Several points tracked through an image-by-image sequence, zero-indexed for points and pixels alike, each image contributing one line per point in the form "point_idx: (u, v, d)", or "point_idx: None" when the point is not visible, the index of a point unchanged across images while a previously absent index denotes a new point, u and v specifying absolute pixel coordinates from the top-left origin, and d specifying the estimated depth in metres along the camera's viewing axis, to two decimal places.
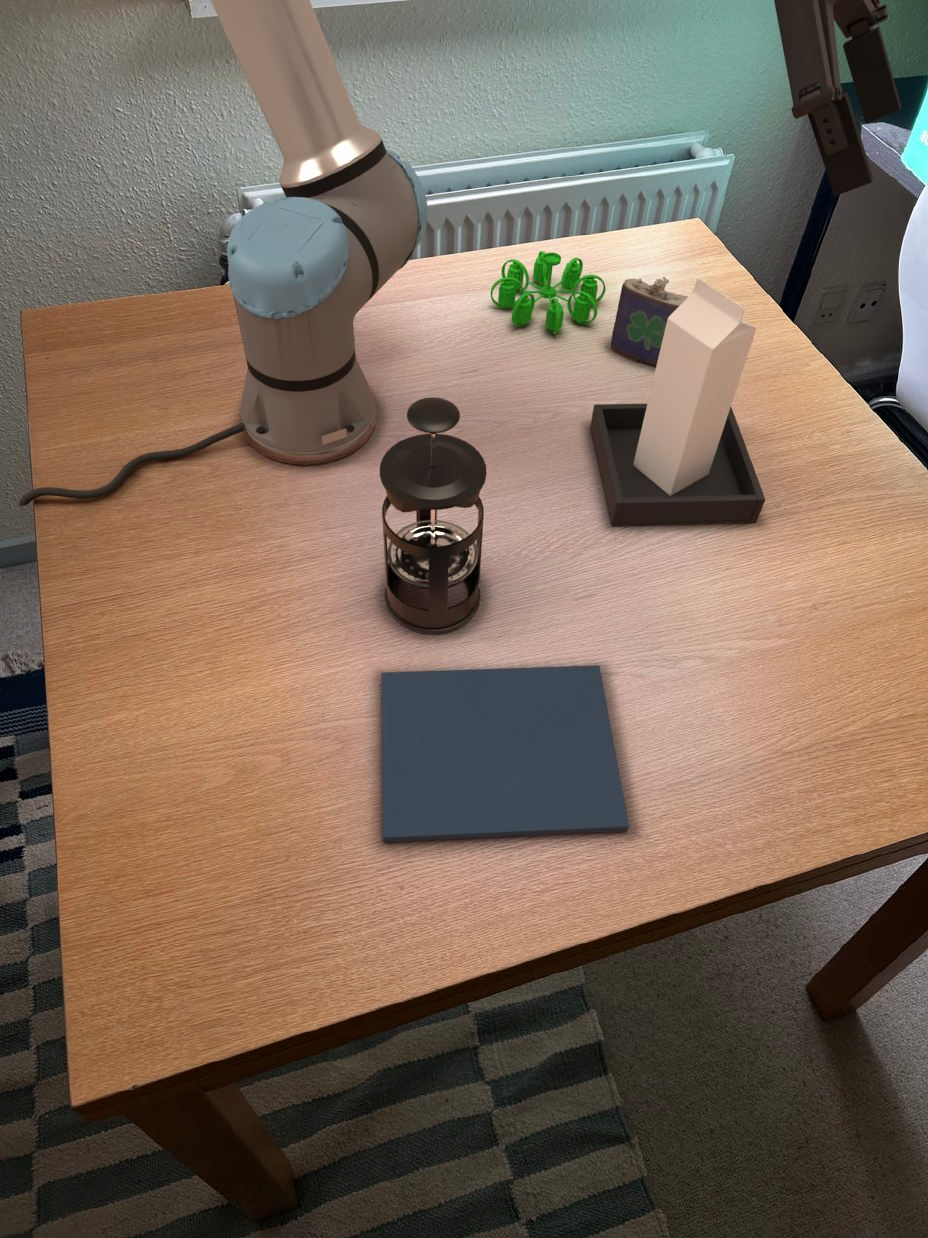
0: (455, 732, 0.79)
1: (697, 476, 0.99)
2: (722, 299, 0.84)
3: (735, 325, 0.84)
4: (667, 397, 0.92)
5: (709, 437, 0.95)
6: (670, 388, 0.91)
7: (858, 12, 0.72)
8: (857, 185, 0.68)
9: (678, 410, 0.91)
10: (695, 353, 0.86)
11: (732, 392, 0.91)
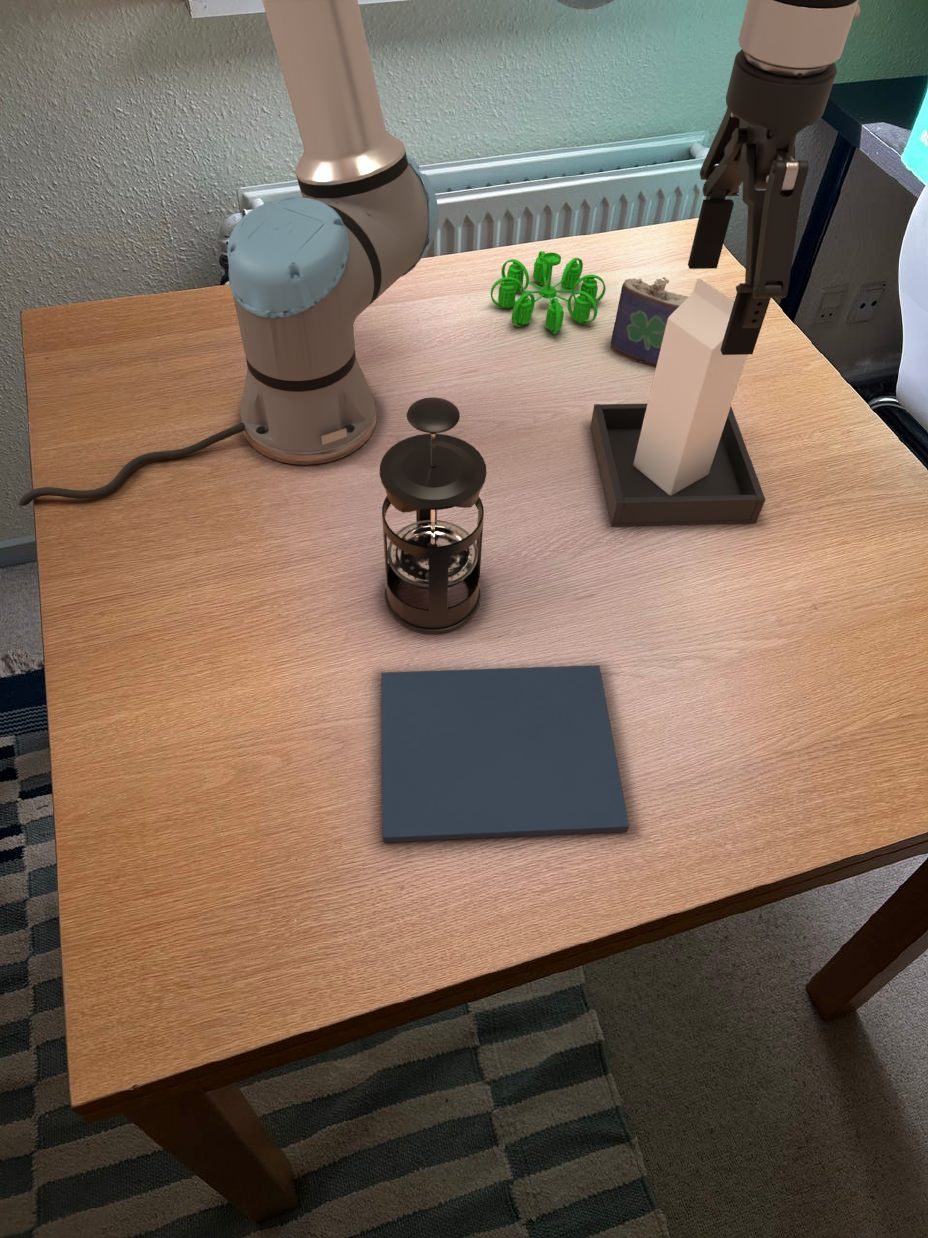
0: (455, 732, 0.79)
1: (697, 476, 0.99)
2: (722, 299, 0.84)
3: None
4: (667, 397, 0.92)
5: (709, 437, 0.95)
6: (670, 388, 0.91)
7: (731, 186, 0.82)
8: (742, 353, 0.80)
9: (678, 410, 0.91)
10: (695, 353, 0.86)
11: (732, 392, 0.91)
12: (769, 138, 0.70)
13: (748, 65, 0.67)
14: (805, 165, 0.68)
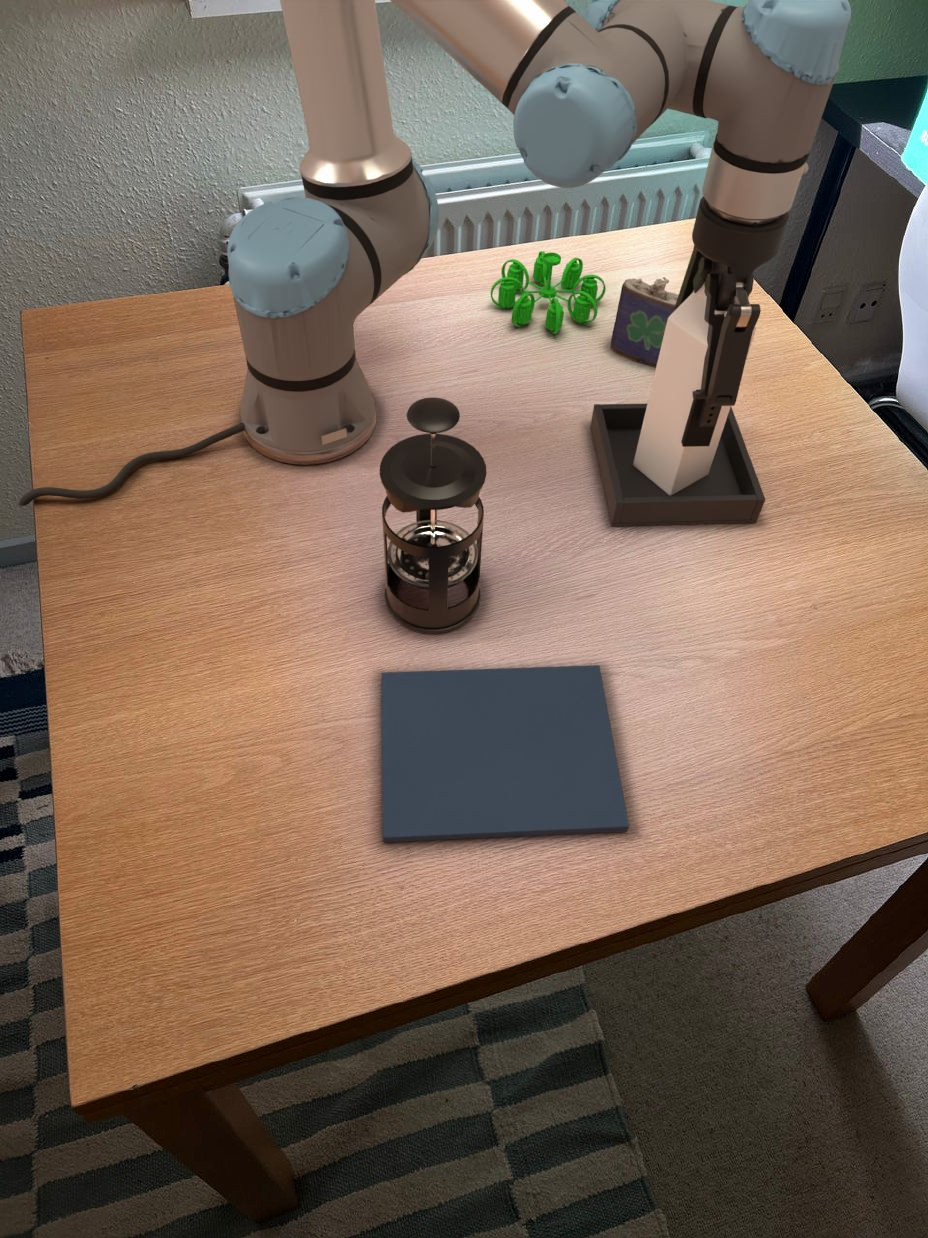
0: (455, 732, 0.79)
1: (696, 476, 0.99)
2: None
3: None
4: (667, 397, 0.92)
5: None
6: (670, 388, 0.91)
7: None
8: (700, 445, 0.92)
9: (678, 410, 0.91)
10: (695, 353, 0.86)
11: None
12: (729, 273, 0.79)
13: (710, 212, 0.76)
14: (757, 311, 0.78)
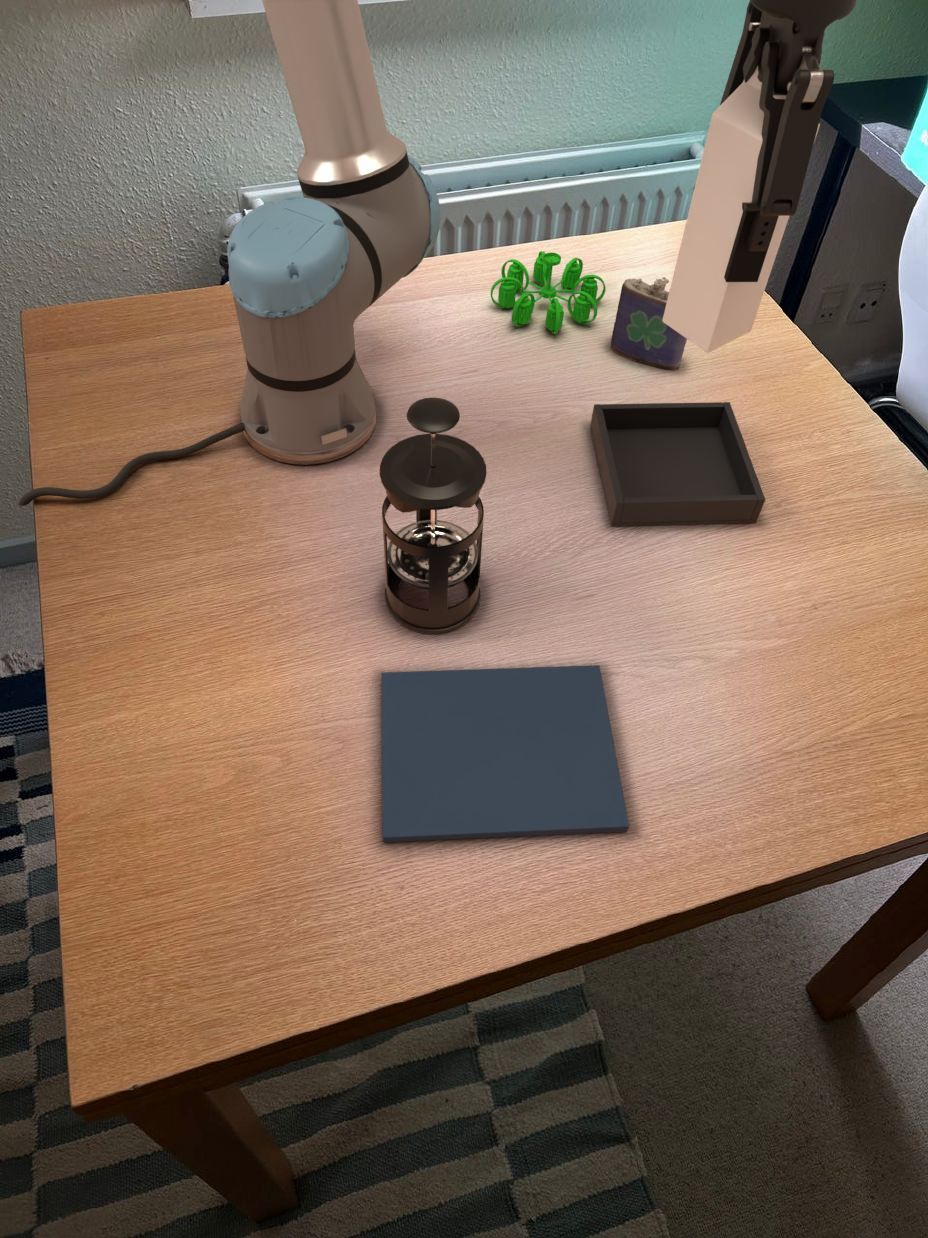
0: (455, 732, 0.79)
1: (738, 331, 0.84)
2: None
3: None
4: (708, 221, 0.76)
5: None
6: (712, 209, 0.76)
7: None
8: (746, 280, 0.77)
9: (721, 237, 0.76)
10: (746, 154, 0.71)
11: (786, 216, 0.76)
12: (795, 33, 0.63)
13: None
14: (830, 77, 0.63)
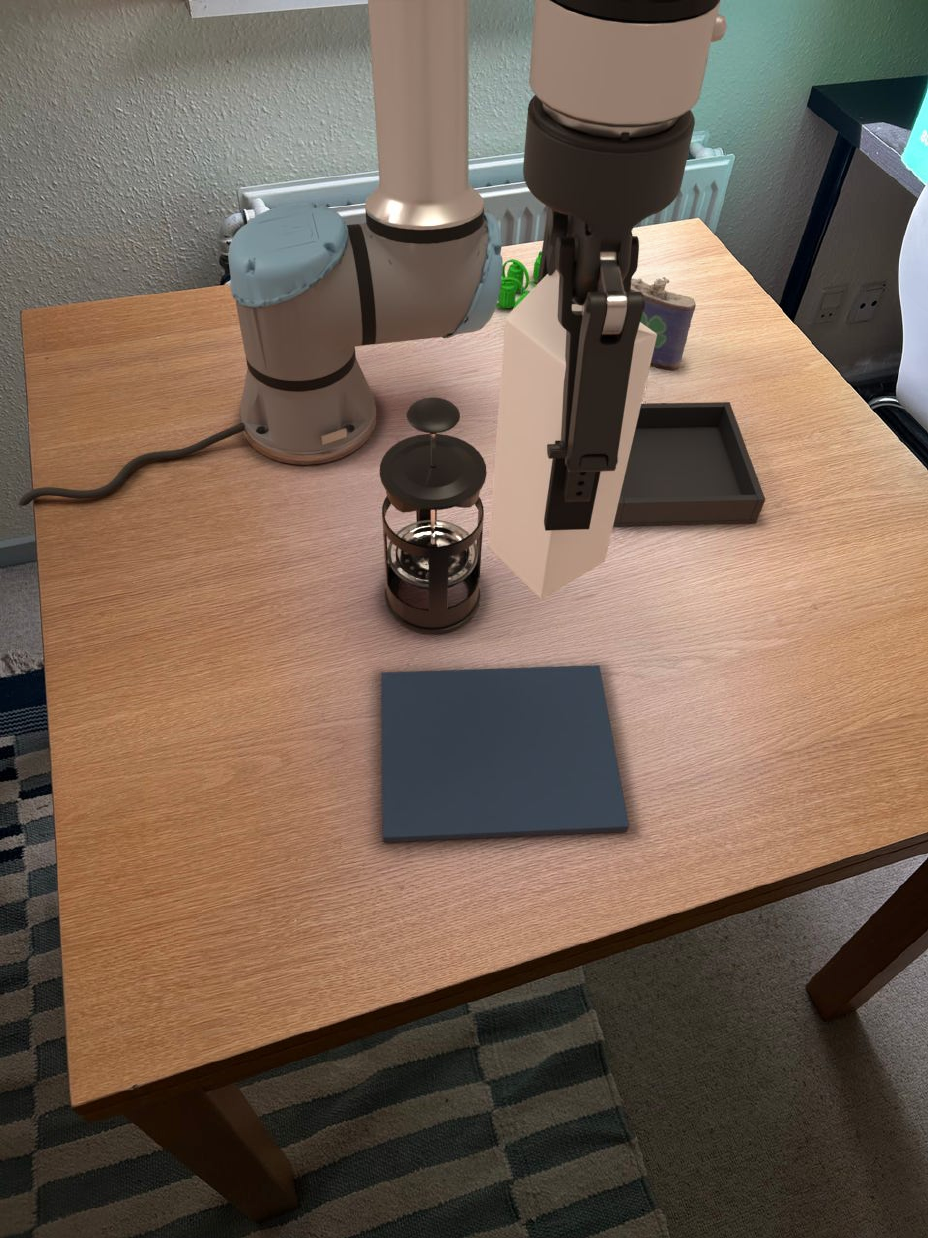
0: (455, 732, 0.79)
1: (584, 567, 0.63)
2: None
3: None
4: (520, 449, 0.55)
5: (596, 511, 0.59)
6: (522, 435, 0.54)
7: None
8: (574, 528, 0.56)
9: (537, 471, 0.55)
10: (551, 379, 0.49)
11: (627, 441, 0.55)
12: (588, 234, 0.42)
13: (544, 117, 0.40)
14: (638, 305, 0.41)
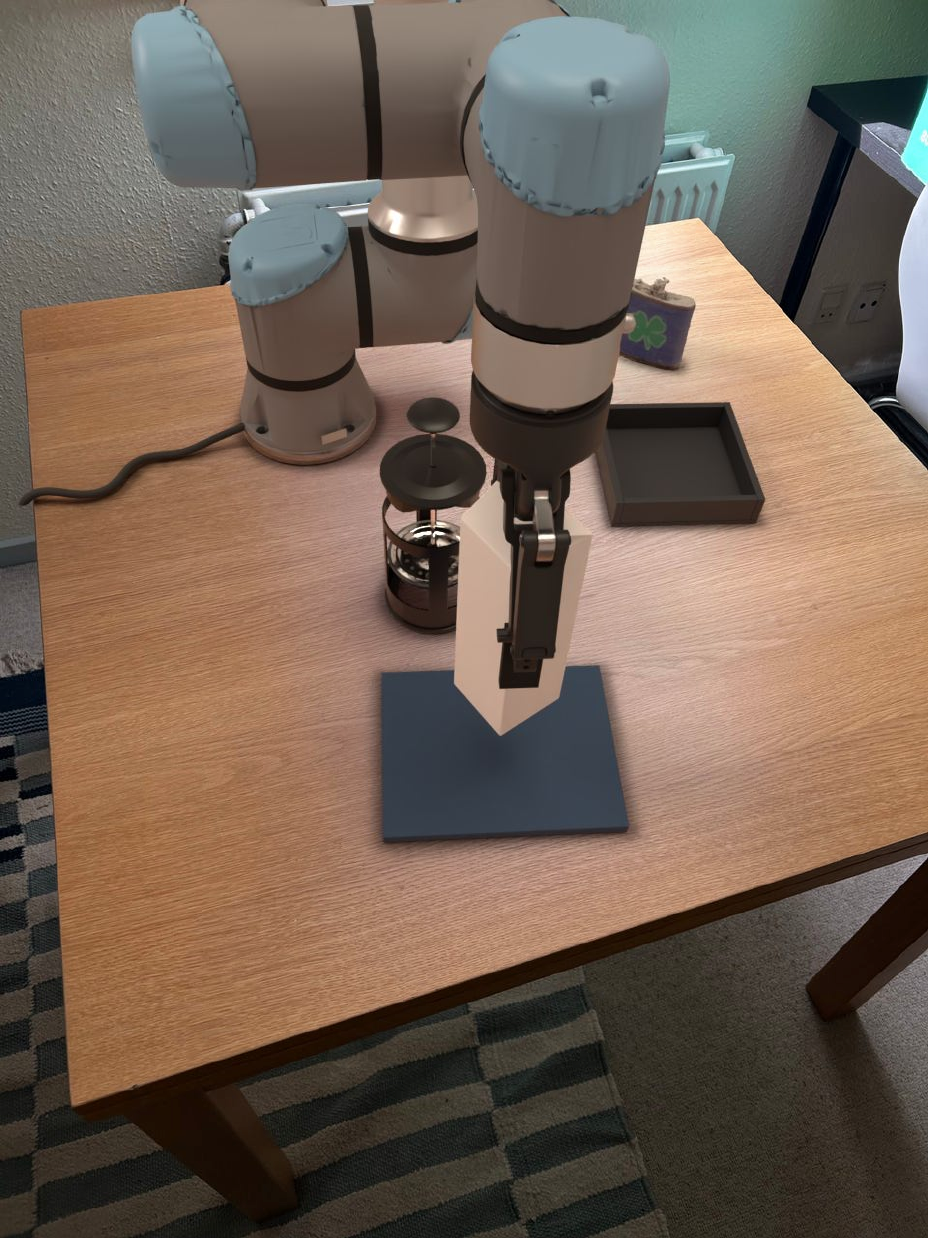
0: (455, 732, 0.79)
1: (539, 706, 0.70)
2: None
3: None
4: (477, 617, 0.62)
5: (547, 664, 0.66)
6: (478, 608, 0.61)
7: None
8: (524, 687, 0.63)
9: (491, 638, 0.62)
10: (499, 574, 0.56)
11: (572, 611, 0.62)
12: (524, 478, 0.49)
13: (483, 390, 0.47)
14: (565, 543, 0.49)
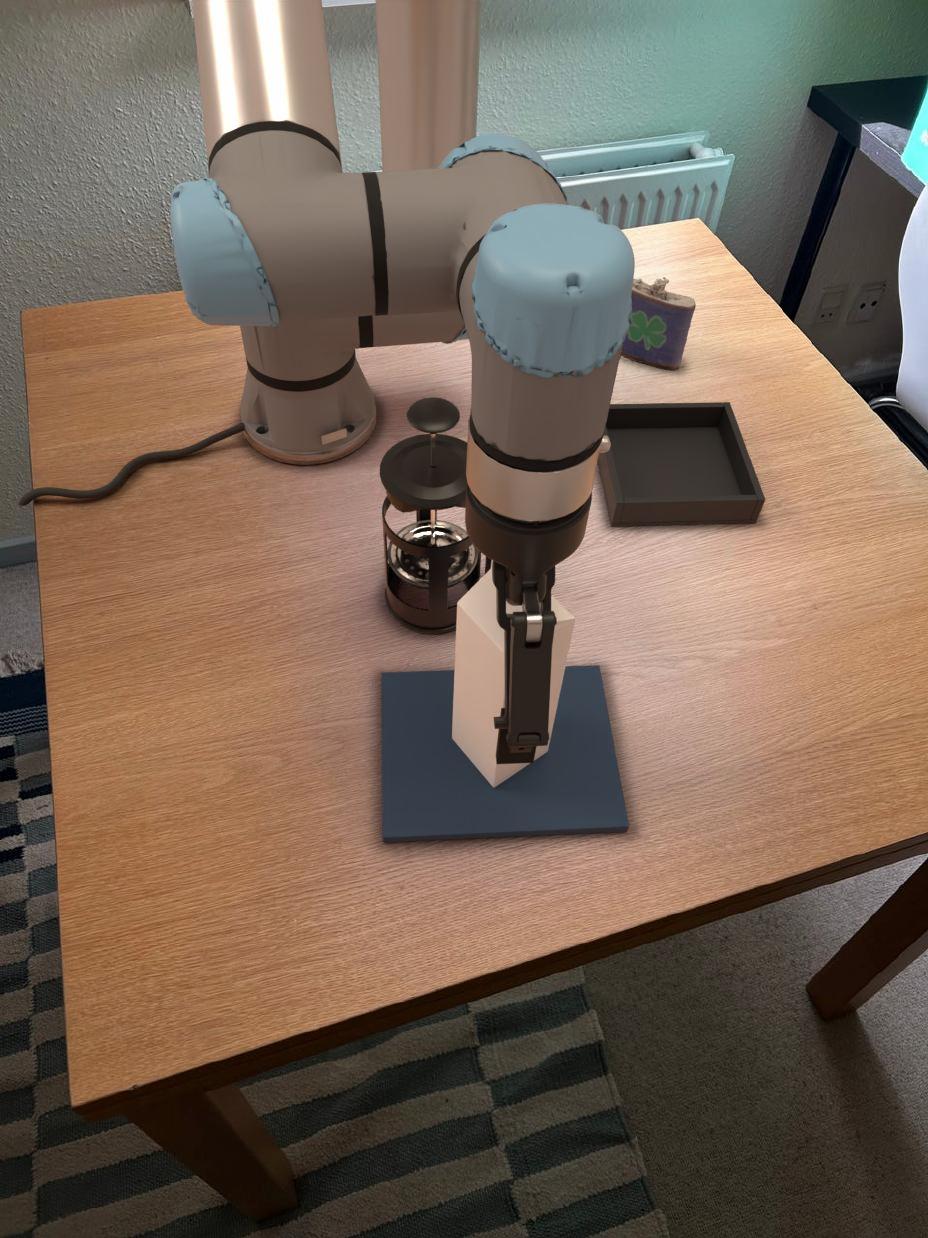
0: None
1: None
2: None
3: None
4: (472, 686, 0.69)
5: None
6: (473, 679, 0.68)
7: None
8: (520, 762, 0.66)
9: (485, 706, 0.69)
10: (492, 654, 0.63)
11: (558, 680, 0.69)
12: (513, 574, 0.56)
13: (477, 500, 0.53)
14: (551, 621, 0.54)
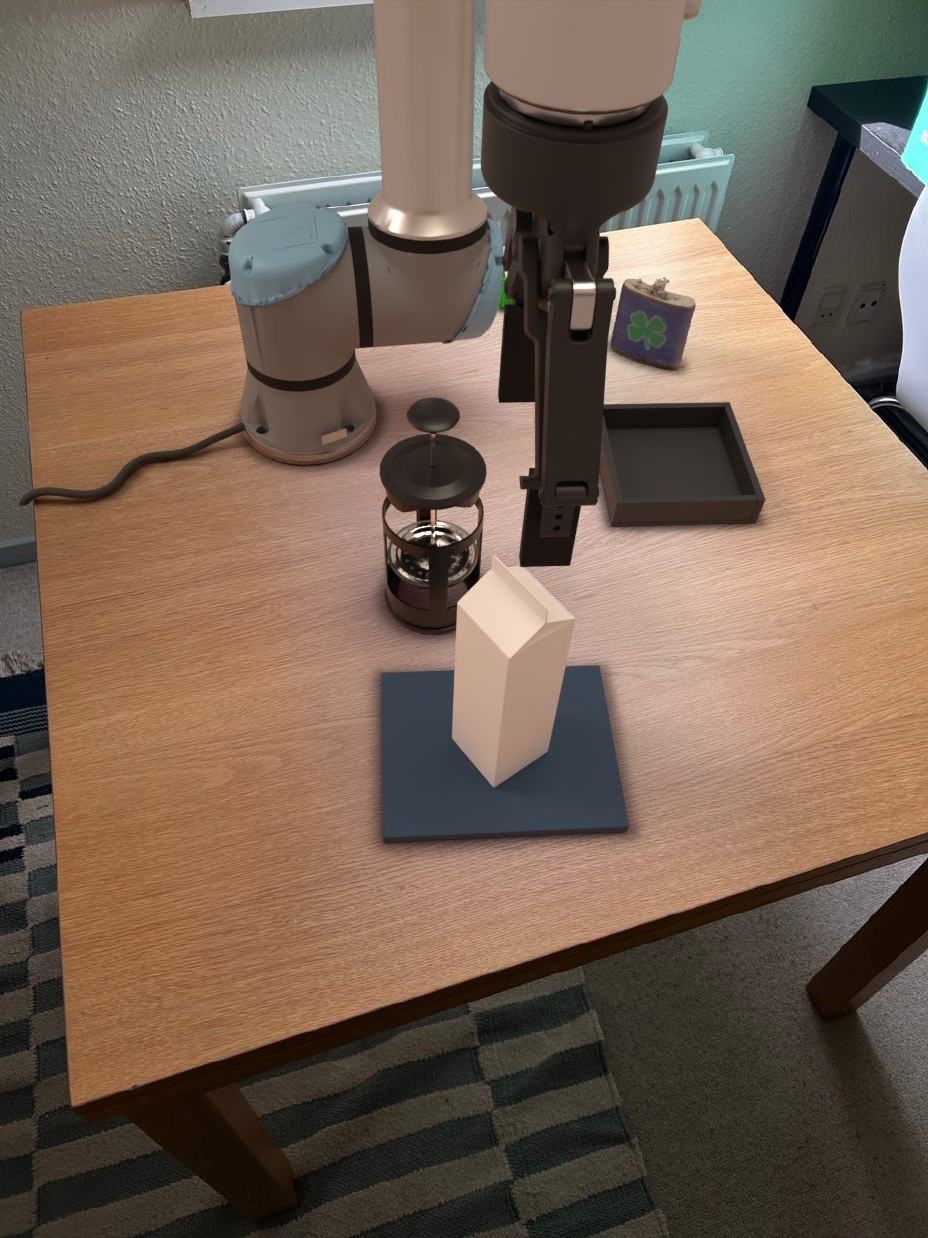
0: None
1: (529, 760, 0.77)
2: (523, 588, 0.62)
3: (539, 626, 0.61)
4: (472, 686, 0.69)
5: (536, 725, 0.73)
6: (473, 678, 0.68)
7: None
8: (552, 564, 0.49)
9: (485, 706, 0.69)
10: (492, 654, 0.63)
11: (558, 680, 0.69)
12: (551, 234, 0.38)
13: (500, 103, 0.36)
14: (608, 289, 0.37)
